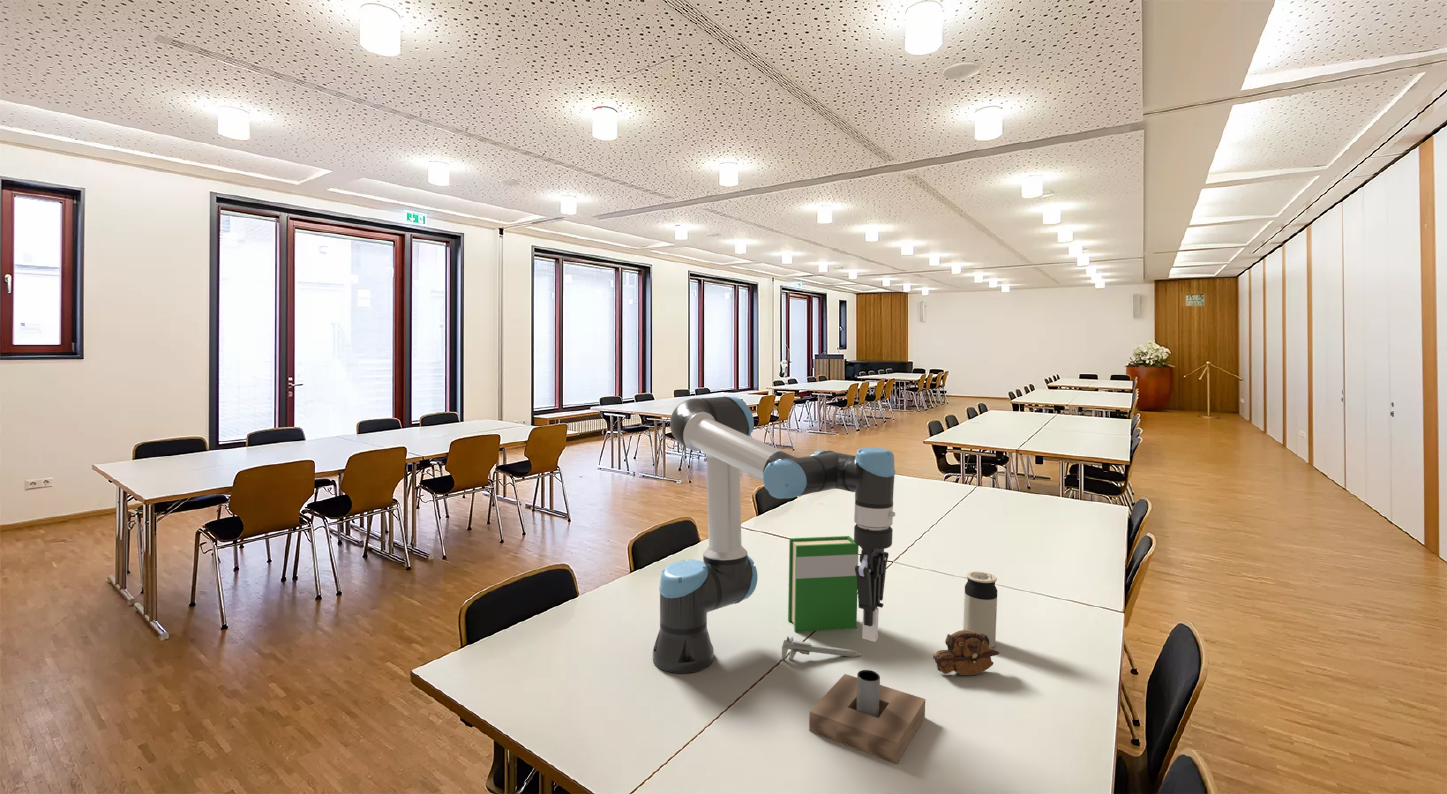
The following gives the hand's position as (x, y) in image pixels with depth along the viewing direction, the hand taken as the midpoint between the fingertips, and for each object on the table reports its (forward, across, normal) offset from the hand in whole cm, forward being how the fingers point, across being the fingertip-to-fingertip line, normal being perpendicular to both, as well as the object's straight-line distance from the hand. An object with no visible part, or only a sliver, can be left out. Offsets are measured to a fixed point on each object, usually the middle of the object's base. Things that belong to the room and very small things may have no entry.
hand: (869, 638), depth 126 cm
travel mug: (+18, +52, -11) cm, 56 cm away
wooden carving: (+18, +33, -12) cm, 40 cm away
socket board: (+18, 0, 0) cm, 18 cm away
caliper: (+19, +20, +20) cm, 34 cm away
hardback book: (+19, +38, +28) cm, 51 cm away
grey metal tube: (+18, 0, 0) cm, 18 cm away
